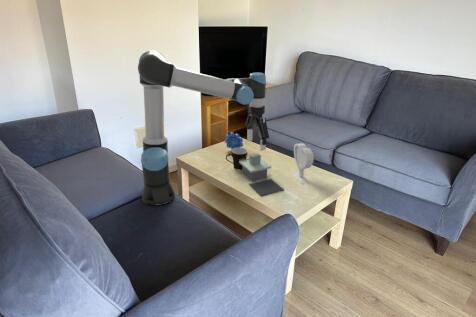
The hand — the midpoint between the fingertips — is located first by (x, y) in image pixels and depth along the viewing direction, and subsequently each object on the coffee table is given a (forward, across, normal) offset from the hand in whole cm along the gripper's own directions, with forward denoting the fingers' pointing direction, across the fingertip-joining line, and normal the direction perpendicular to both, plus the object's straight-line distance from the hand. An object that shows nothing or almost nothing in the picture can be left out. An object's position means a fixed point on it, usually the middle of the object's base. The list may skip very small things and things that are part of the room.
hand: (256, 145), depth 176 cm
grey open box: (+17, 0, 0) cm, 17 cm away
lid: (+11, 0, 0) cm, 11 cm away
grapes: (+18, +33, -4) cm, 38 cm away
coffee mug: (+18, +13, +4) cm, 22 cm away
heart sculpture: (+18, -13, -20) cm, 30 cm away
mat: (+18, -14, +2) cm, 22 cm away
